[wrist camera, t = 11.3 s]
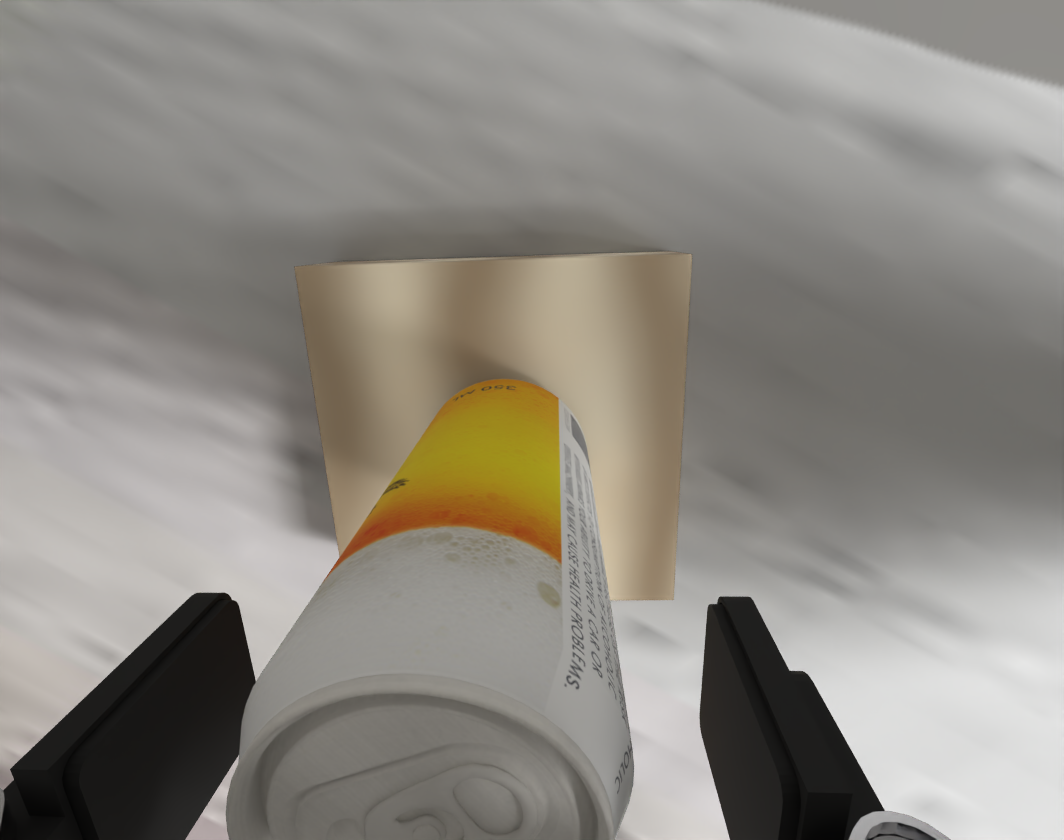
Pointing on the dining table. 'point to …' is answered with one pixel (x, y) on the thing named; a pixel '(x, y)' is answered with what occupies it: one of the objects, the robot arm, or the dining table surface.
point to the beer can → (452, 653)
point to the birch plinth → (511, 376)
